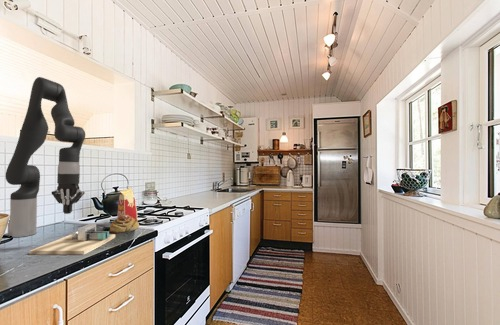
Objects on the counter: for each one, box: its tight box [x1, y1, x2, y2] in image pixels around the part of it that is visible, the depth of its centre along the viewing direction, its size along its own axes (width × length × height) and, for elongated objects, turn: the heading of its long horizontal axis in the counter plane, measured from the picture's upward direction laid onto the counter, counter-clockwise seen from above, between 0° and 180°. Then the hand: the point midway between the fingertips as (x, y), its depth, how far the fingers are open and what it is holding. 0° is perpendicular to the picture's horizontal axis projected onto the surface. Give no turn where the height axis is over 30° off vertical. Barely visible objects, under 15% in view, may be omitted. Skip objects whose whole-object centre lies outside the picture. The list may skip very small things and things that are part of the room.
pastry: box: [108, 215, 140, 234], centre depth 125 cm, size 13×15×8 cm
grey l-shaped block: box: [77, 223, 97, 241], centre depth 103 cm, size 3×7×5 cm, turn 1°
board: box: [28, 233, 116, 256], centre depth 99 cm, size 20×21×2 cm
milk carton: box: [116, 186, 138, 222], centre depth 141 cm, size 9×9×20 cm
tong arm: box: [76, 233, 106, 240], centre depth 102 cm, size 12×2×2 cm, turn 88°
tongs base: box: [71, 230, 110, 240], centre depth 103 cm, size 15×3×3 cm, turn 91°
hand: (67, 213), depth 102 cm, fingers closed
